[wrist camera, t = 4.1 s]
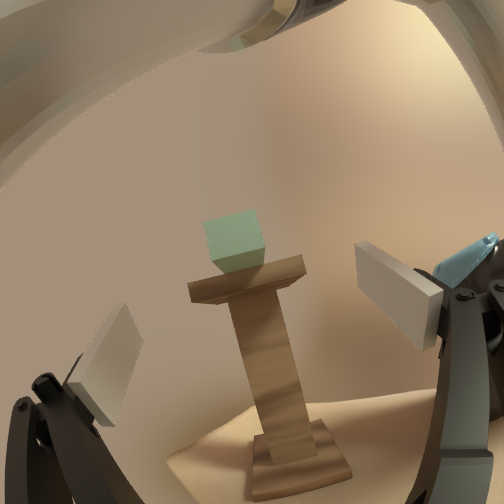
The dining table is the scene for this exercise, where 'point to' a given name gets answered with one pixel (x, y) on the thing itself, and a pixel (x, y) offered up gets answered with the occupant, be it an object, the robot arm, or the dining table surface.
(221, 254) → the sage bar
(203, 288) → the walnut stand
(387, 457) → the dining table surface
